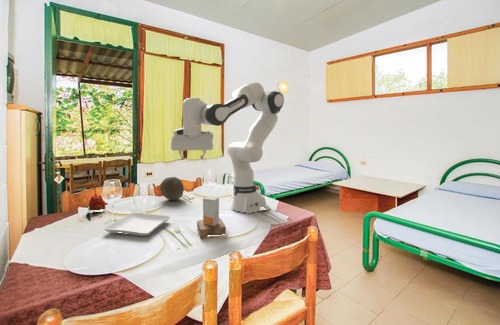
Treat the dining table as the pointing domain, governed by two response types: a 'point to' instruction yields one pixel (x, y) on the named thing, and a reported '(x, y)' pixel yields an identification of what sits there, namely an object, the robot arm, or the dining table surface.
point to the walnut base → (210, 229)
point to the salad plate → (137, 224)
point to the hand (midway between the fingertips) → (192, 159)
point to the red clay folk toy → (96, 202)
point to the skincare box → (211, 211)
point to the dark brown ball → (172, 188)
